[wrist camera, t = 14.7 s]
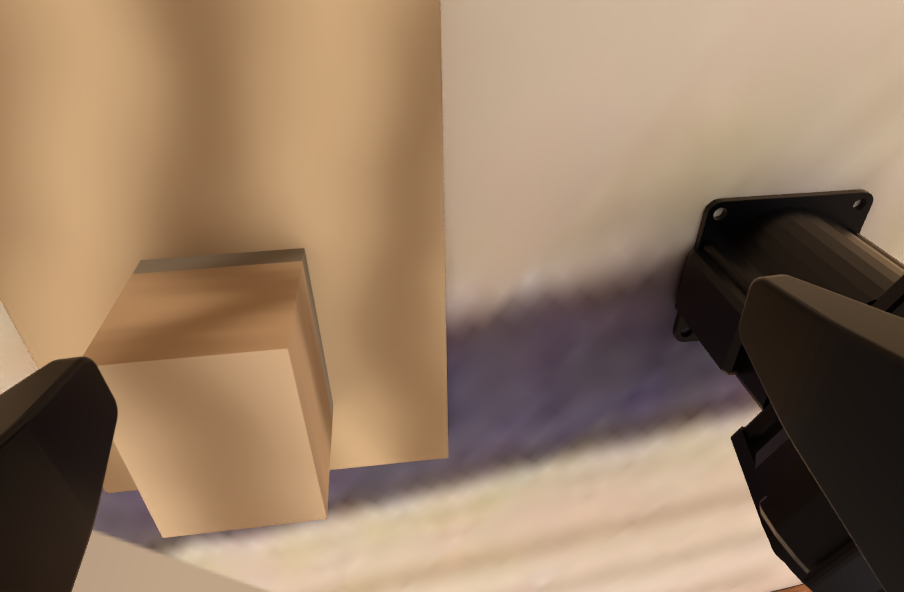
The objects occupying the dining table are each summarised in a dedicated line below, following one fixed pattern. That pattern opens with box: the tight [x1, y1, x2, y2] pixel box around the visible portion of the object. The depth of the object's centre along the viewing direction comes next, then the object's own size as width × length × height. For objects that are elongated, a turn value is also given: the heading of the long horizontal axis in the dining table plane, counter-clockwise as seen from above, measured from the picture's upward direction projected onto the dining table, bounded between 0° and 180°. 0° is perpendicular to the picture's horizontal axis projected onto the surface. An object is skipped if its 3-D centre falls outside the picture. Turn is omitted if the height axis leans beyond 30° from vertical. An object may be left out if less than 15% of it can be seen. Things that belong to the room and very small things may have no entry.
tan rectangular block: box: [83, 248, 333, 538], centre depth 18 cm, size 5×7×5 cm
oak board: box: [0, 0, 448, 493], centre depth 19 cm, size 14×20×2 cm
